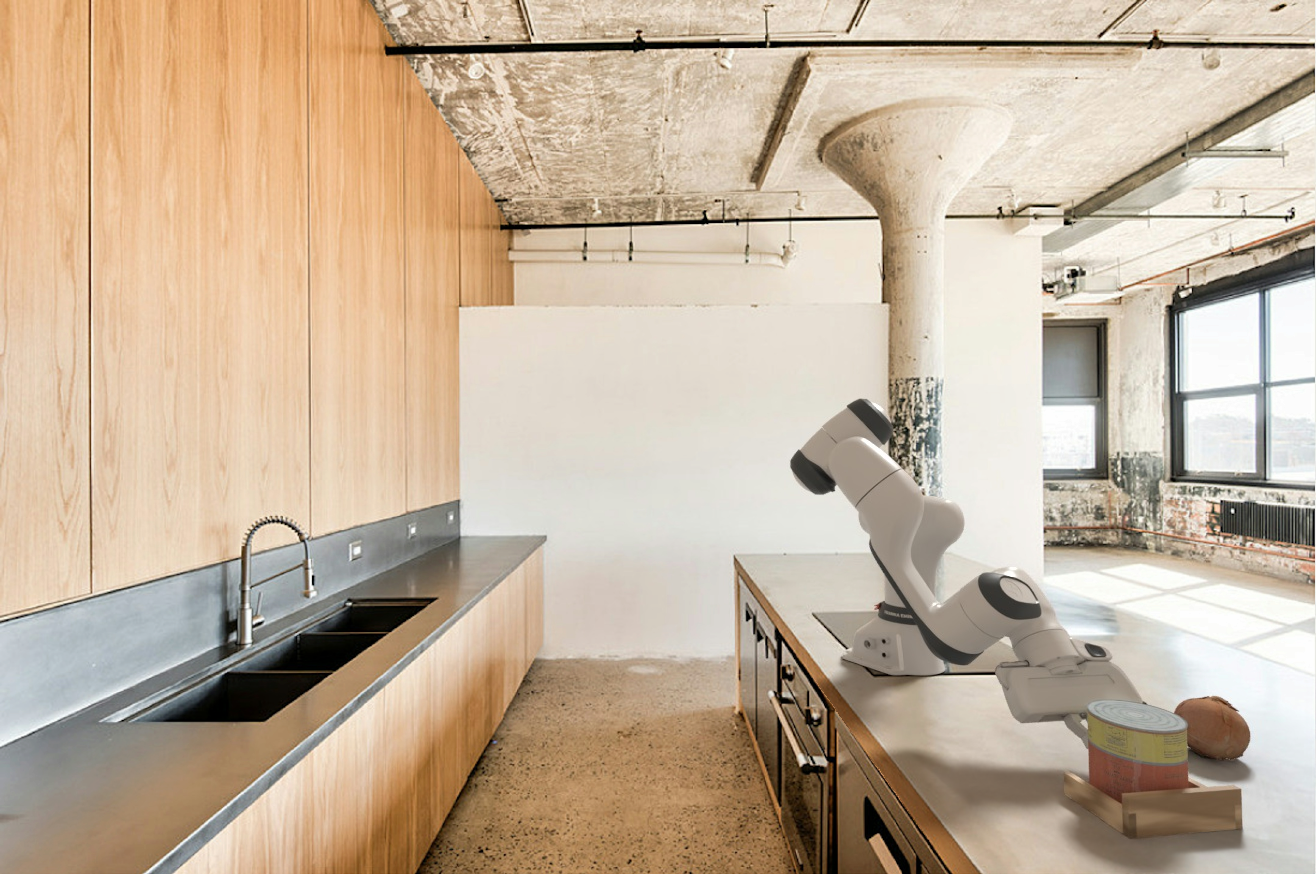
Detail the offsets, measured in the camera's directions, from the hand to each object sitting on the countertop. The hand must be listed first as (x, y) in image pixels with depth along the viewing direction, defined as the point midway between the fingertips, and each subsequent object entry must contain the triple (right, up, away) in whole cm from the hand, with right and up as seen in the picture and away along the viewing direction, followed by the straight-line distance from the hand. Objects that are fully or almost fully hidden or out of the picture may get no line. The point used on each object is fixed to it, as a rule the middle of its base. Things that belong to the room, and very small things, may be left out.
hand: (1099, 747), depth 97 cm
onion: (+23, -5, +8) cm, 25 cm away
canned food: (+1, -5, -6) cm, 8 cm away
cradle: (+1, -5, -8) cm, 9 cm away
